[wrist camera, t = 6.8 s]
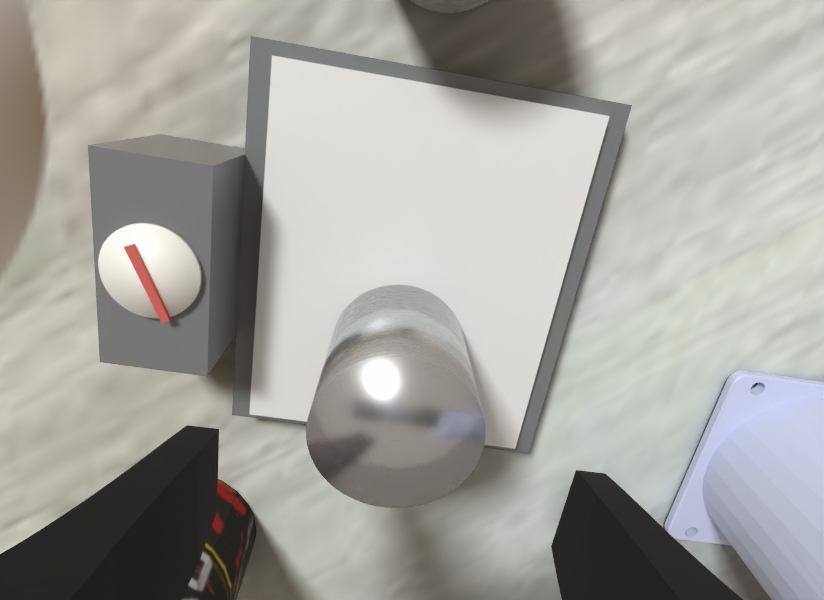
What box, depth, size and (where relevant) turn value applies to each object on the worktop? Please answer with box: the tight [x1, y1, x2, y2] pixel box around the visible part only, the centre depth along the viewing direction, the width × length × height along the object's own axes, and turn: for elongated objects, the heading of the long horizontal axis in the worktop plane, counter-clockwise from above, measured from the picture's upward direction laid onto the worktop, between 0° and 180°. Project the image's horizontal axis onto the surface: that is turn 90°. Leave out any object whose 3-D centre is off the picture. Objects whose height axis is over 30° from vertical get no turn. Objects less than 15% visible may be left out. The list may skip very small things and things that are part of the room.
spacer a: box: [306, 285, 486, 508], centre depth 15 cm, size 4×4×5 cm
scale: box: [88, 36, 632, 453], centre depth 16 cm, size 14×12×4 cm
